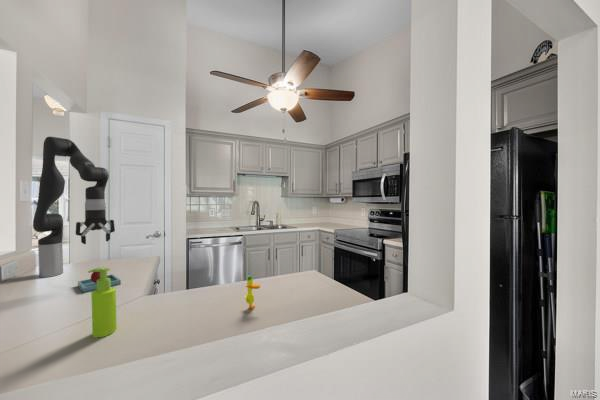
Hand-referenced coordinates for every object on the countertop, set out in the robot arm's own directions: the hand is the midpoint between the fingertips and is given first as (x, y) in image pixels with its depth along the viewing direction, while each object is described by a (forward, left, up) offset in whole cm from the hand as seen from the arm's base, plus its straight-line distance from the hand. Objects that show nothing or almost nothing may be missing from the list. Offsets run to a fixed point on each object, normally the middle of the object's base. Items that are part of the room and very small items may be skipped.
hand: (96, 242), depth 118 cm
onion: (+1, 0, -20) cm, 20 cm away
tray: (+1, +1, -20) cm, 20 cm away
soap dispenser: (+54, -8, -21) cm, 59 cm away
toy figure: (+77, +32, -21) cm, 86 cm away
